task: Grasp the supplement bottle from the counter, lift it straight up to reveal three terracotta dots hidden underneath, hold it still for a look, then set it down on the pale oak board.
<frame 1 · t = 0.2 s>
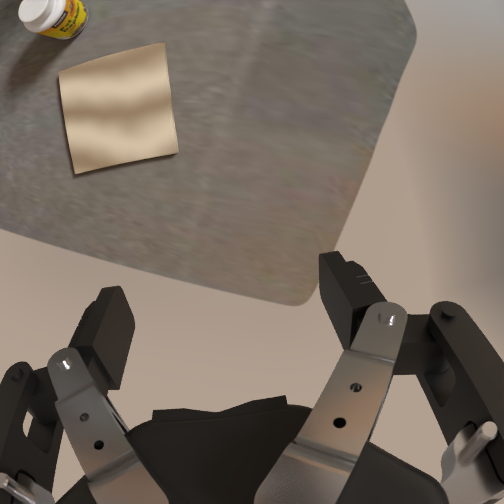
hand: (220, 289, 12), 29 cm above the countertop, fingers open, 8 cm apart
oak board: (116, 108, 34), on the countertop
supplement bottle: (71, 21, 27), on the countertop, touching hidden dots
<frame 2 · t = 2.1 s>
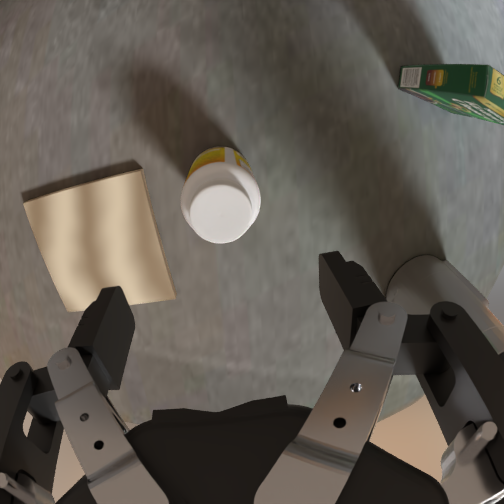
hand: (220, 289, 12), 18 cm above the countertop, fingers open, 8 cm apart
oak board: (98, 247, 31), on the countertop
supplement bottle: (220, 174, 29), on the countertop, touching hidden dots
coffee box: (426, 89, 26), on the countertop
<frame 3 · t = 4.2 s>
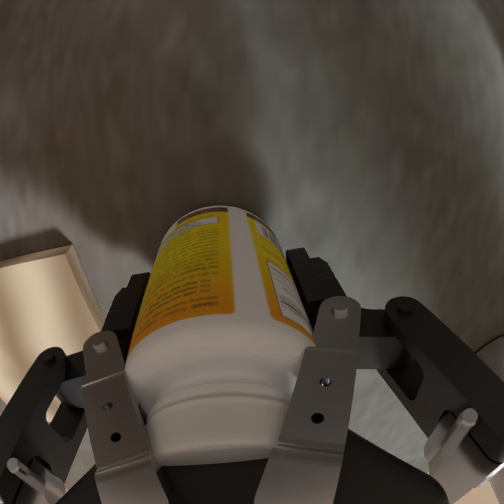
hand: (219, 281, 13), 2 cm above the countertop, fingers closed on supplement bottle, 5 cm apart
oak board: (34, 353, 17), on the countertop
supplement bottle: (220, 256, 15), on the countertop, touching gripper, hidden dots
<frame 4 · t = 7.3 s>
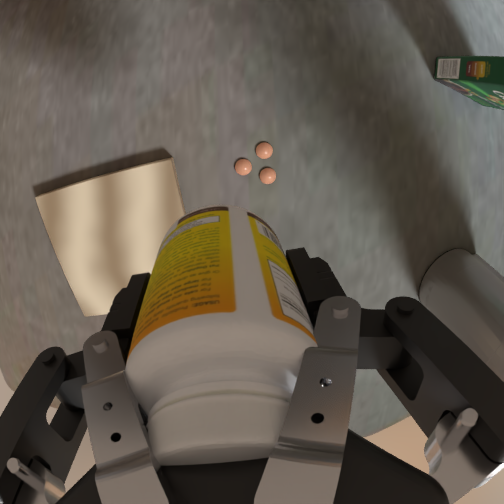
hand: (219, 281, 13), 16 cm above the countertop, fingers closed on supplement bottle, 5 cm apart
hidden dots: (258, 164, 26), on the countertop
oak board: (120, 245, 29), on the countertop
supplement bottle: (220, 255, 15), point 14 cm above the countertop, touching gripper
coffee box: (459, 81, 24), on the countertop
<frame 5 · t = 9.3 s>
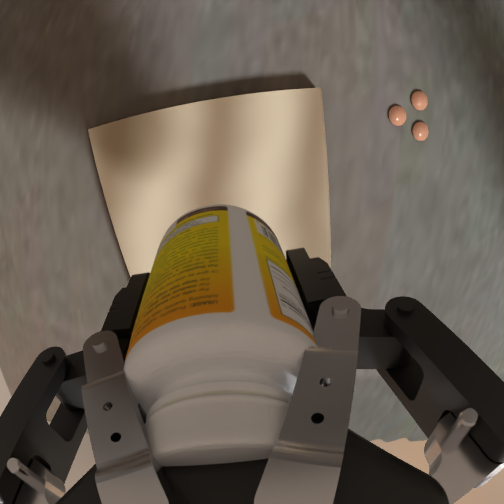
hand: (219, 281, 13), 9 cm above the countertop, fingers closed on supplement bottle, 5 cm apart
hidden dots: (412, 115, 18), on the countertop
oak board: (219, 208, 21), on the countertop
supplement bottle: (219, 255, 15), point 7 cm above the countertop, touching gripper
when the fingers open (4 cm above the countertop, at t = 10.7 s): supplement bottle stays where it is, resting on oak board.
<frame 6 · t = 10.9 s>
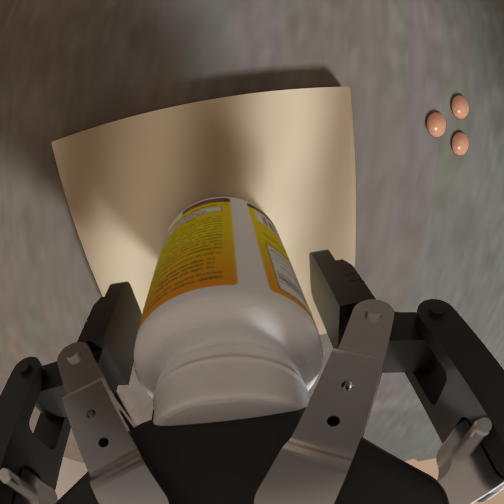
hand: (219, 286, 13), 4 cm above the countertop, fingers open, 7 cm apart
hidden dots: (452, 124, 14), on the countertop
oak board: (218, 239, 16), on the countertop
supplement bottle: (222, 245, 16), point 1 cm above the countertop, touching oak board
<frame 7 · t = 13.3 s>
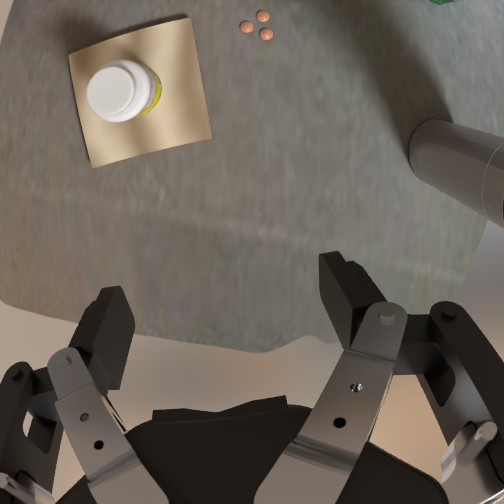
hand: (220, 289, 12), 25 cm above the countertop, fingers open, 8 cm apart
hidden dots: (258, 25, 28), on the countertop
oak board: (138, 91, 30), on the countertop
supplement bottle: (138, 91, 29), point 1 cm above the countertop, touching oak board
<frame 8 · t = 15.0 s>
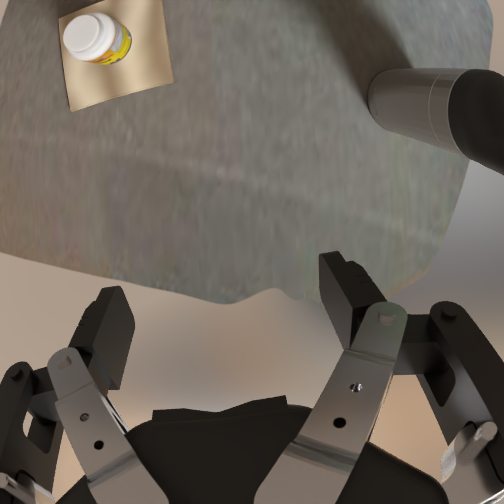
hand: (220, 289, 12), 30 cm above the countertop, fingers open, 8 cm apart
oak board: (113, 46, 31), on the countertop
supplement bottle: (113, 45, 30), point 1 cm above the countertop, touching oak board
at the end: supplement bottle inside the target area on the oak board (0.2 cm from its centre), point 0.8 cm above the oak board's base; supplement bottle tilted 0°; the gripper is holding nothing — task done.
